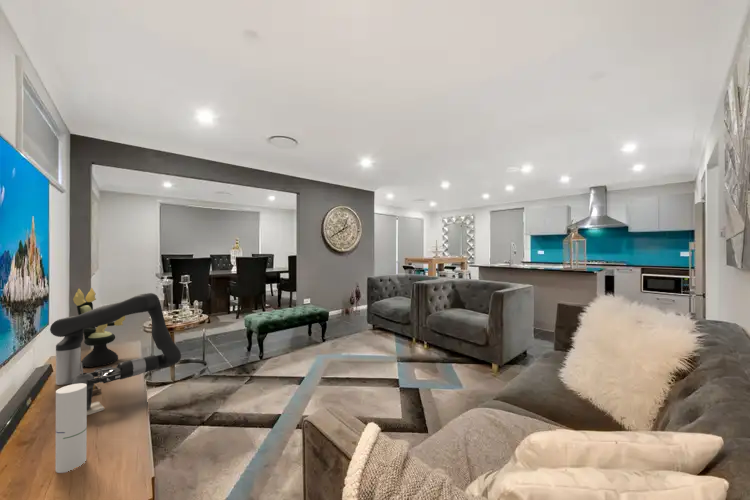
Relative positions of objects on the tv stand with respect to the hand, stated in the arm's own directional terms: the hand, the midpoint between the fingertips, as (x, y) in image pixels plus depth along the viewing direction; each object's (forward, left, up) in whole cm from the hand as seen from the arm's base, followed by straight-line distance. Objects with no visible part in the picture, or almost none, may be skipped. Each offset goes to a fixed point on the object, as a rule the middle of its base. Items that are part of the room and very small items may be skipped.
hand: (85, 379), depth 132 cm
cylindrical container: (+39, -11, -14) cm, 43 cm away
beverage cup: (0, -1, -13) cm, 13 cm away
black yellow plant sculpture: (-66, +17, -14) cm, 70 cm away
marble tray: (-20, +4, -14) cm, 25 cm away
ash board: (0, -1, -14) cm, 14 cm away
